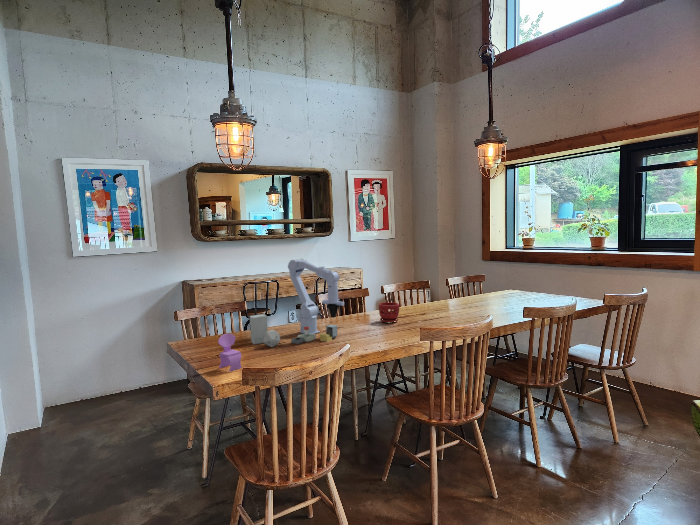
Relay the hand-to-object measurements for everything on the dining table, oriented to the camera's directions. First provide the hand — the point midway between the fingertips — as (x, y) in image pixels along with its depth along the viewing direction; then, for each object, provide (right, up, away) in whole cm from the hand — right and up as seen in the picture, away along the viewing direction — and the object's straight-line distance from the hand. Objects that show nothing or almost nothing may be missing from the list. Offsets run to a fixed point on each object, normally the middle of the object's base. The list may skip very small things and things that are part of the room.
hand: (333, 317), depth 236 cm
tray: (-14, -11, -7) cm, 20 cm away
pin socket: (-19, -12, -12) cm, 25 cm away
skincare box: (-40, -13, -10) cm, 43 cm away
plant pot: (+35, -7, +32) cm, 48 cm away
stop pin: (-14, -11, -7) cm, 19 cm away
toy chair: (-43, -16, -53) cm, 70 cm away
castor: (-1, -11, -5) cm, 12 cm away
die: (-31, -13, -18) cm, 38 cm away
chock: (-4, -11, -9) cm, 15 cm away
